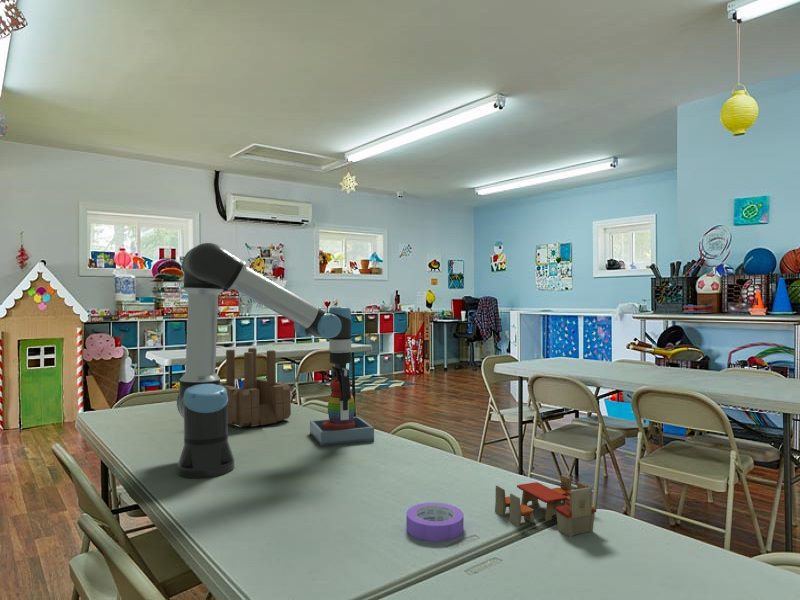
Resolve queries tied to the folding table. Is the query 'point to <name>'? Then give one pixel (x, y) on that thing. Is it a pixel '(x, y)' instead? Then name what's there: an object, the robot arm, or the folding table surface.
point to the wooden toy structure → (256, 392)
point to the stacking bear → (338, 409)
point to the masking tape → (434, 521)
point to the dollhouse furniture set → (552, 505)
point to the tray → (342, 433)
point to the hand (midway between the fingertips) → (340, 416)
